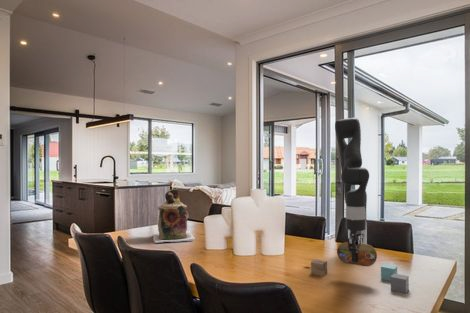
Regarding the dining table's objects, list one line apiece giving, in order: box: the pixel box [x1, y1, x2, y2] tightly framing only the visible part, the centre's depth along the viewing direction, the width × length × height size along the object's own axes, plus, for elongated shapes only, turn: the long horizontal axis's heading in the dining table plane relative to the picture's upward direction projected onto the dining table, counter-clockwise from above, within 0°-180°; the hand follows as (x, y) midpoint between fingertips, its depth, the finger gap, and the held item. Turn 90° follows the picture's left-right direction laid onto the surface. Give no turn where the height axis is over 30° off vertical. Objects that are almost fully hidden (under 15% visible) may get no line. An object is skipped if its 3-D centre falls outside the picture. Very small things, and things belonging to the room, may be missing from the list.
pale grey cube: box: [390, 273, 410, 295], centre depth 120 cm, size 5×5×5 cm
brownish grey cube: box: [310, 259, 328, 277], centre depth 139 cm, size 5×5×5 cm
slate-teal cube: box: [380, 263, 398, 282], centre depth 132 cm, size 5×5×5 cm
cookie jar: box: [152, 187, 195, 244], centre depth 208 cm, size 25×25×32 cm
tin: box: [336, 241, 378, 267], centre depth 131 cm, size 15×3×8 cm, turn 54°
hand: (356, 260), depth 131 cm, fingers closed on tin, 2 cm apart
